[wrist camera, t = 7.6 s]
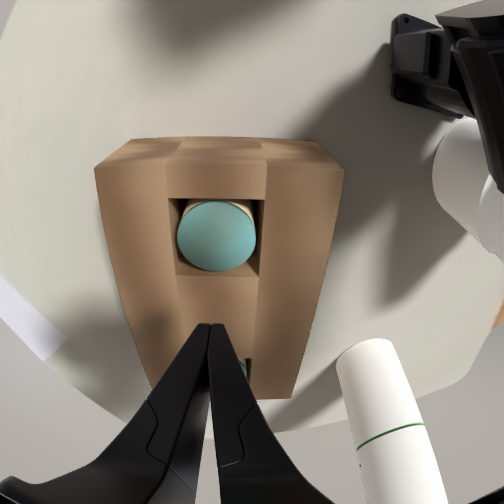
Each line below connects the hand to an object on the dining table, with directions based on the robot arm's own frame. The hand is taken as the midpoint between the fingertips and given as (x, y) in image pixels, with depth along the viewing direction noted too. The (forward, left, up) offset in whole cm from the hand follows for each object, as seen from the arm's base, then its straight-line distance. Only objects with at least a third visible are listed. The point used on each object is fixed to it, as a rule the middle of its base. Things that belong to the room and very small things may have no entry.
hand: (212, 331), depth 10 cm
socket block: (0, +6, -13) cm, 14 cm away
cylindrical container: (-16, +20, -13) cm, 28 cm away
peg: (0, 0, -12) cm, 12 cm away
